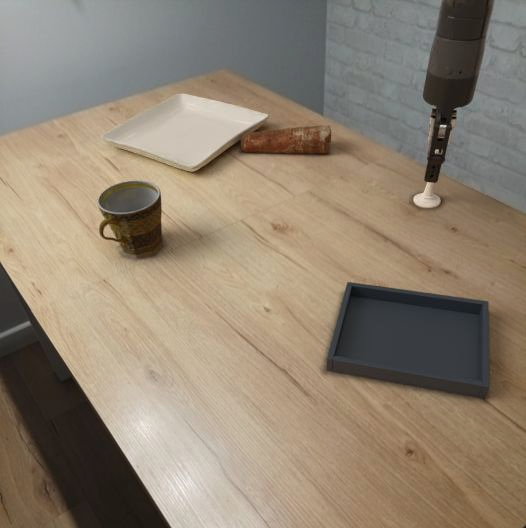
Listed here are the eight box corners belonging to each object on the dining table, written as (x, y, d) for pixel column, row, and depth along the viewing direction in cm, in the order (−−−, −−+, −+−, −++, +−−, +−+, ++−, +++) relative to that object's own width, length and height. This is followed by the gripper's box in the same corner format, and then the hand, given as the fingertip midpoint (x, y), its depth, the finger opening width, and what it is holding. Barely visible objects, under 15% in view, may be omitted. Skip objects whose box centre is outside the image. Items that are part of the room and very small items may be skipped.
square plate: (101, 152, 114) (96, 135, 111) (182, 106, 129) (179, 90, 126) (195, 183, 103) (192, 164, 100) (272, 129, 117) (271, 112, 115)
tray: (483, 315, 73) (488, 301, 71) (483, 401, 63) (489, 387, 61) (346, 295, 78) (347, 281, 76) (325, 372, 68) (326, 358, 66)
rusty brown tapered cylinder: (329, 159, 107) (331, 132, 102) (239, 157, 109) (237, 131, 105) (331, 144, 111) (332, 118, 107) (244, 143, 113) (242, 118, 109)
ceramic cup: (136, 226, 93) (122, 175, 86) (182, 238, 90) (172, 186, 83) (90, 268, 86) (71, 216, 78) (139, 283, 82) (124, 230, 75)
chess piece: (410, 196, 95) (419, 143, 88) (437, 195, 95) (449, 142, 88) (414, 211, 92) (424, 157, 85) (442, 210, 92) (455, 156, 84)
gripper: (480, 87, 71) (453, 192, 83) (480, 52, 81) (456, 151, 92) (424, 83, 73) (406, 187, 85) (430, 49, 82) (413, 148, 94)
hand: (432, 168), depth 89 cm, fingers open, 8 cm apart
